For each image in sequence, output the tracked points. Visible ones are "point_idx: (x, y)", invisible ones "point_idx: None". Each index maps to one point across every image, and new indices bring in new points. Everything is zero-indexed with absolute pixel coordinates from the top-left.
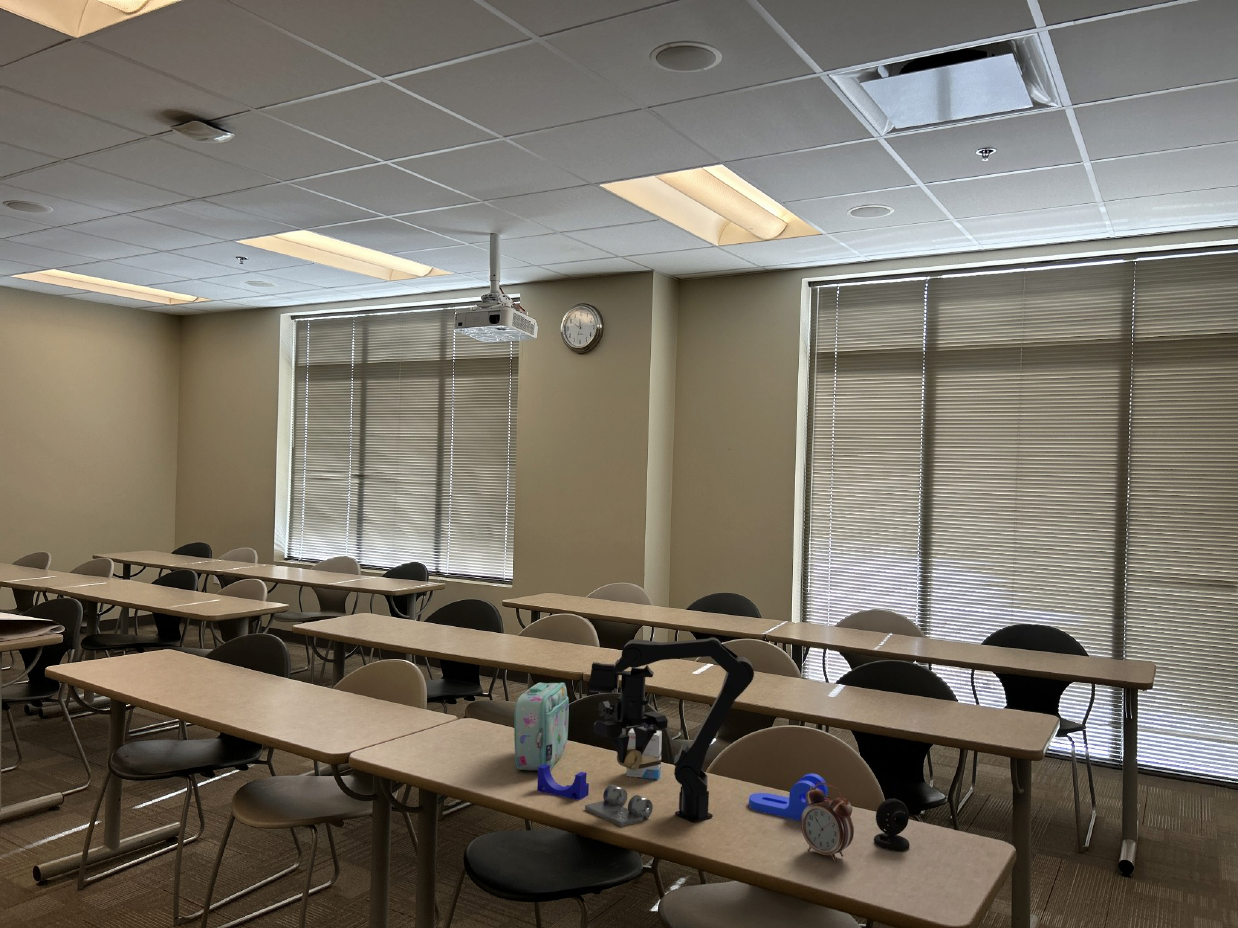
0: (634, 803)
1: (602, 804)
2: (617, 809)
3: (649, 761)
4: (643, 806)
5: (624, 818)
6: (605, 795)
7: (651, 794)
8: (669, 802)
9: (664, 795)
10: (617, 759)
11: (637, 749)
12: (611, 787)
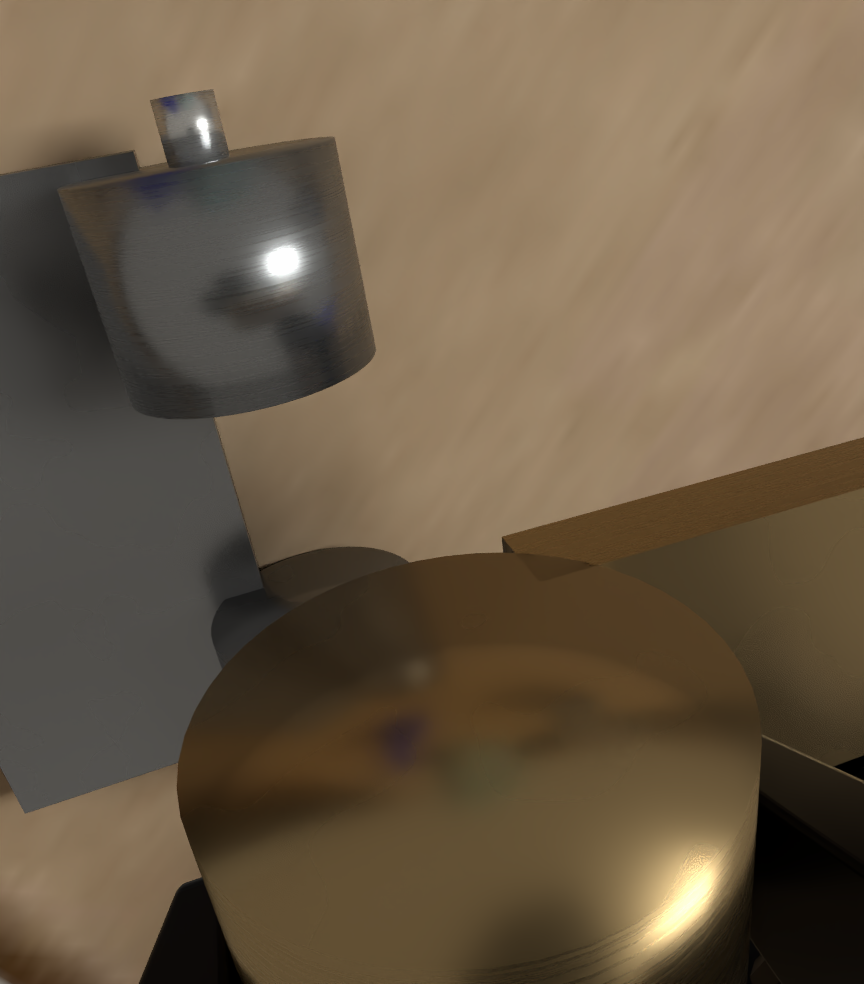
0: None
1: (9, 295)
2: (136, 501)
3: (841, 721)
4: None
5: (100, 733)
6: (76, 239)
7: (775, 96)
8: (761, 375)
9: (851, 186)
10: (186, 761)
11: (831, 925)
12: (173, 268)
